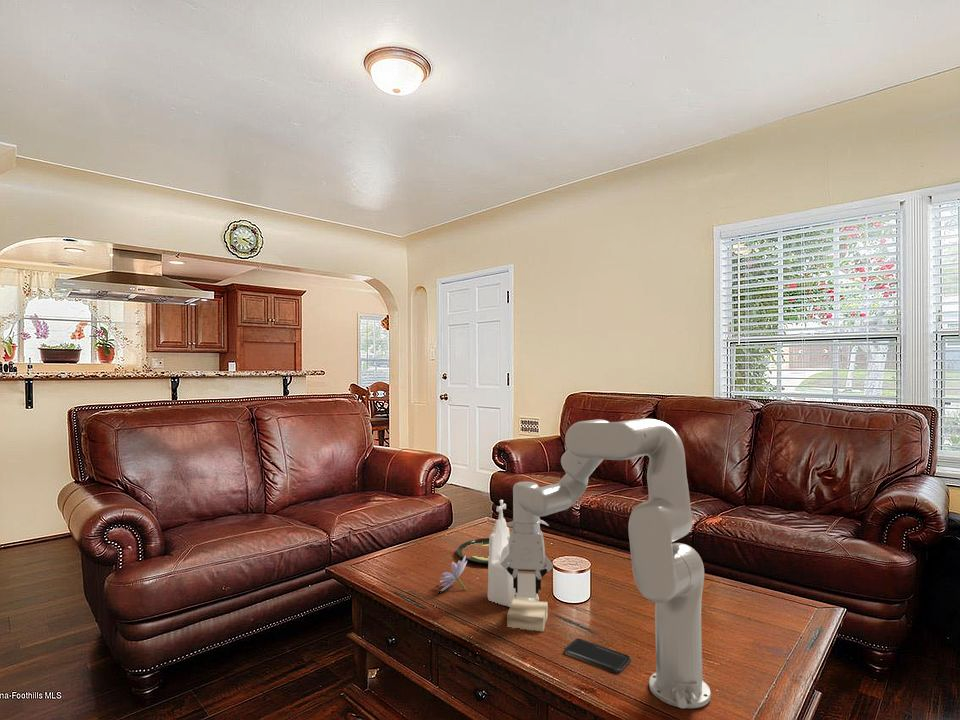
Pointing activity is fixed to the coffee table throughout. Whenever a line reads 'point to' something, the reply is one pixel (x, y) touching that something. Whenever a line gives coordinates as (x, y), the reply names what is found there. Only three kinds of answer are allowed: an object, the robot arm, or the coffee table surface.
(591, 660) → the phone
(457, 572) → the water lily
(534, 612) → the block
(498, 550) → the religious statue
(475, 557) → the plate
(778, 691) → the coffee table surface
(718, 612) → the coffee table surface
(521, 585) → the peach rectangular block
